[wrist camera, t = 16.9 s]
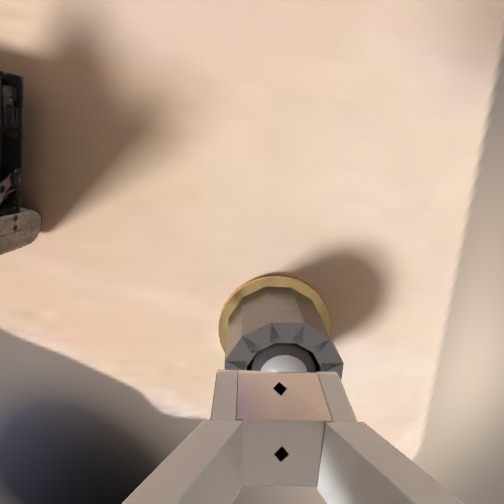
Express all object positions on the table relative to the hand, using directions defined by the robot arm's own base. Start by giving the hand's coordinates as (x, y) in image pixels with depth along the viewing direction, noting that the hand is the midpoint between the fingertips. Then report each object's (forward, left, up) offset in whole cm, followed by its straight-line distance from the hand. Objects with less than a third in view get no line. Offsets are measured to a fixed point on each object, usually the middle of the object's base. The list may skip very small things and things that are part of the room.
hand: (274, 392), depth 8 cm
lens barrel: (+4, +13, -28) cm, 31 cm away
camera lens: (+4, +14, -23) cm, 27 cm away
